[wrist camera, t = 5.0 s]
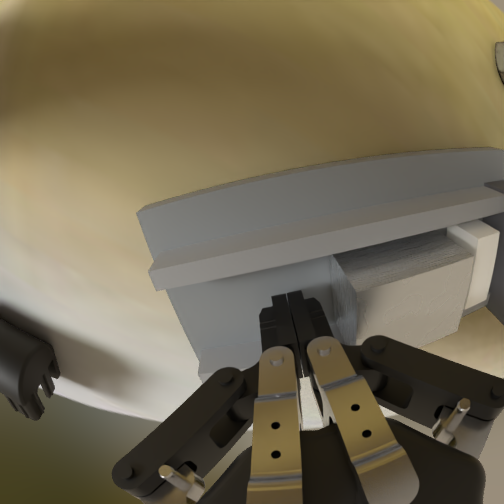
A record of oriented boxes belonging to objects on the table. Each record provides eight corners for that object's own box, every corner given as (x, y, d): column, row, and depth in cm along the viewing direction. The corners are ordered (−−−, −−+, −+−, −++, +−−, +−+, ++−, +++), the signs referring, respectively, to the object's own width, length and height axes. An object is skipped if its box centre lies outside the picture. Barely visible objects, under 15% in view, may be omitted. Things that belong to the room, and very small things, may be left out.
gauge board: (144, 206, 13) (84, 259, 8) (492, 147, 12) (560, 167, 6) (211, 369, 18) (204, 445, 12) (477, 296, 17) (520, 340, 11)
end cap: (52, 325, 17) (11, 384, 11) (65, 377, 20) (39, 430, 13) (-20, 286, 15) (-61, 327, 9) (-3, 340, 18) (-33, 380, 12)
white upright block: (447, 219, 12) (478, 238, 10) (469, 214, 12) (499, 231, 10) (440, 285, 14) (464, 309, 12) (462, 277, 14) (486, 299, 12)
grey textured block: (327, 247, 13) (356, 292, 9) (447, 219, 12) (493, 248, 9) (334, 317, 15) (355, 369, 11) (440, 285, 14) (475, 322, 11)
